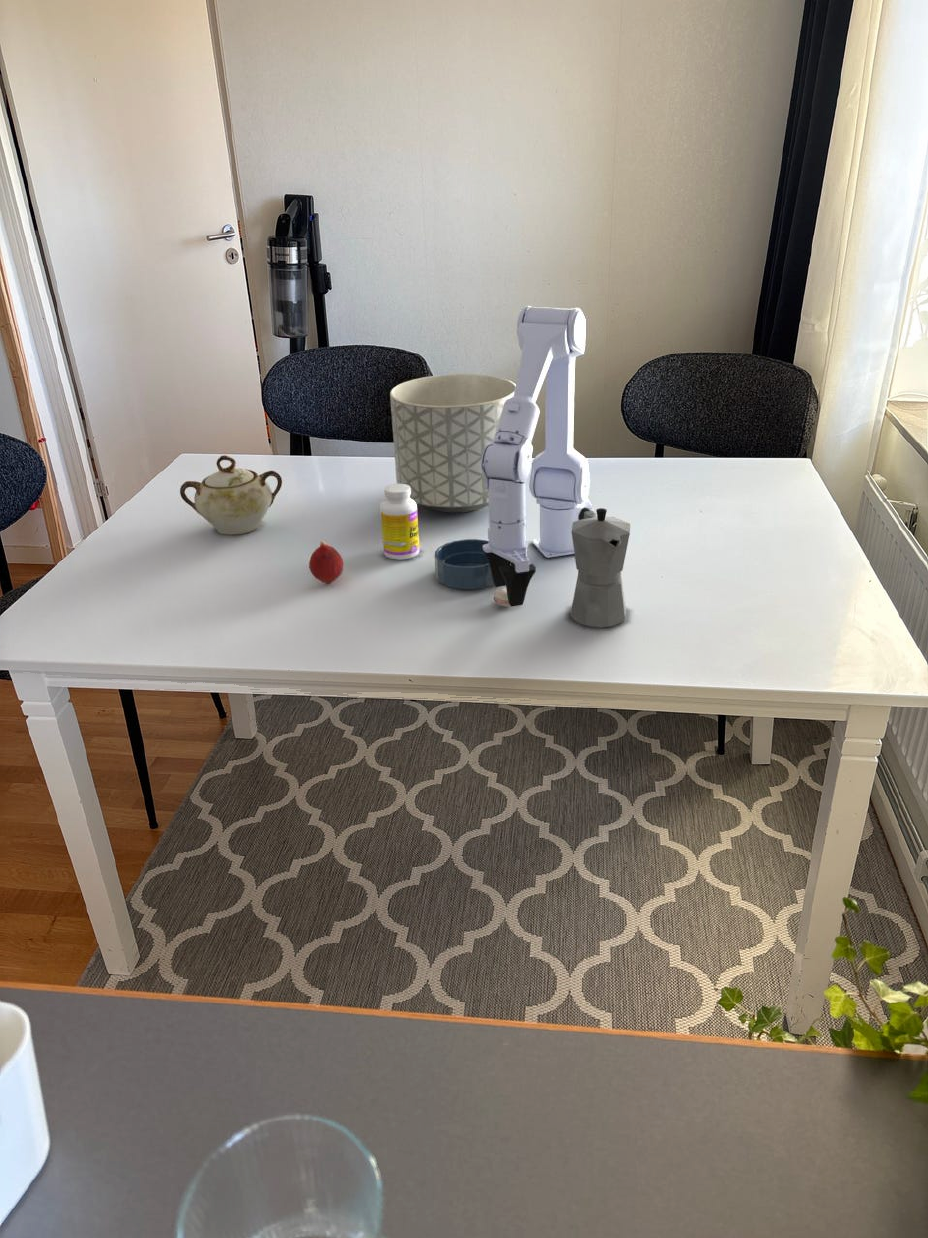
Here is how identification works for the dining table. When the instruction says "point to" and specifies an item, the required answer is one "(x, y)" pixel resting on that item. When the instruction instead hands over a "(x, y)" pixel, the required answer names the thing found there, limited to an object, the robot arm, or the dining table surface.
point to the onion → (326, 563)
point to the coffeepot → (599, 568)
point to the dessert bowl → (463, 564)
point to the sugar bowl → (232, 498)
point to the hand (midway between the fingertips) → (508, 595)
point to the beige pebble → (501, 597)
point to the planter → (446, 437)
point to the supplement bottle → (399, 523)
